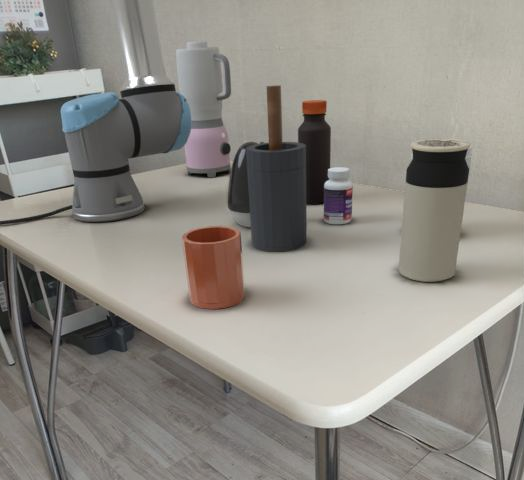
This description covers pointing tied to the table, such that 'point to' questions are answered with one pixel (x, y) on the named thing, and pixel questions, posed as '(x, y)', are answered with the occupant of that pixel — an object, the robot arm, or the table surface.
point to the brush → (274, 117)
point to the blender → (205, 106)
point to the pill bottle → (338, 196)
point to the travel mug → (433, 209)
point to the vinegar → (315, 148)
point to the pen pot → (214, 266)
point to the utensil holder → (277, 196)
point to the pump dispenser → (239, 187)
